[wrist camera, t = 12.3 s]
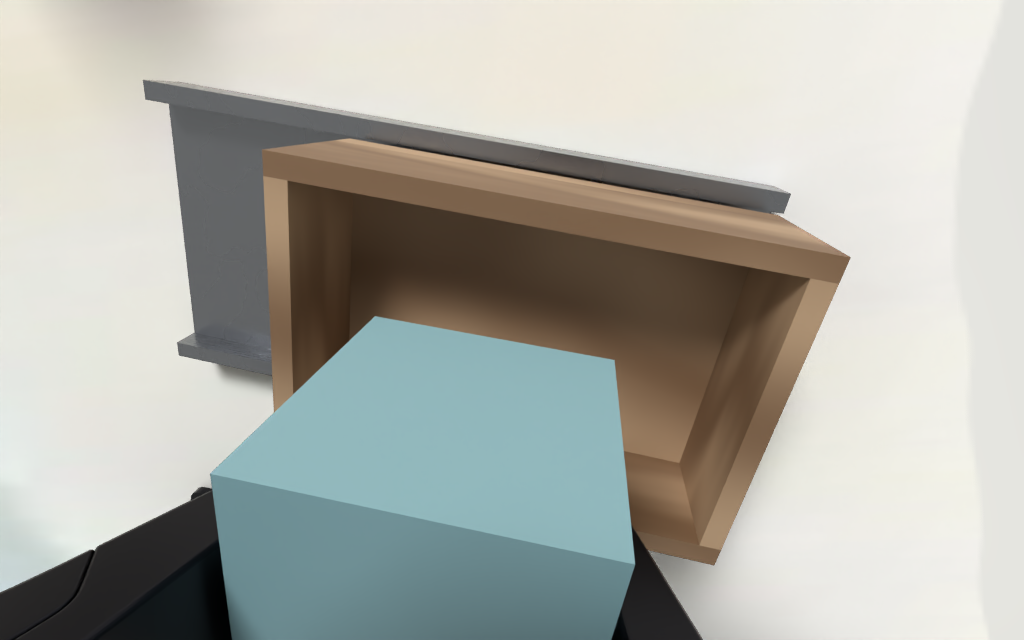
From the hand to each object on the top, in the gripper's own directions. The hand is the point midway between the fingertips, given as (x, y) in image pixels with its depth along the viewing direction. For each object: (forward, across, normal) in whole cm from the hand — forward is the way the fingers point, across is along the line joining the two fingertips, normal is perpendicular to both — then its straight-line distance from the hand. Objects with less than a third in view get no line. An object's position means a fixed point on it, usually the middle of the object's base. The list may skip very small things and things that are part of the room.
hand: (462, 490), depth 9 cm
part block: (+2, 0, 0) cm, 2 cm away
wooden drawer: (+11, 0, 0) cm, 11 cm away
